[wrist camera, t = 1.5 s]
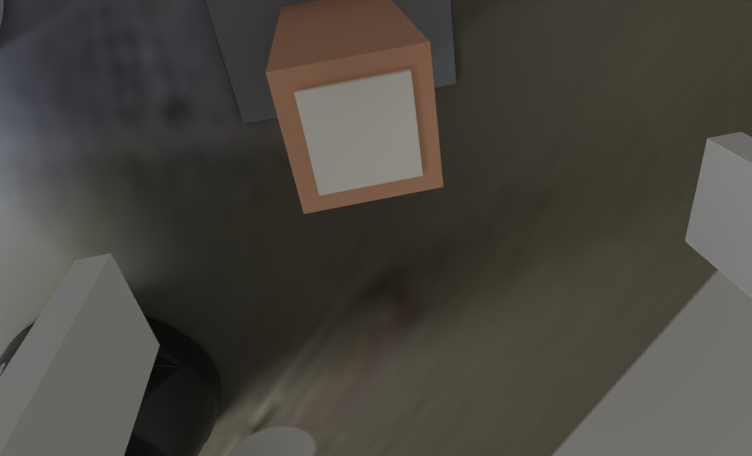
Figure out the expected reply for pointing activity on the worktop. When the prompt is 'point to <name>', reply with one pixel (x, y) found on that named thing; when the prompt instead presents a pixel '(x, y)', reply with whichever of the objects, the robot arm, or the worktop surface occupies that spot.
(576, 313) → the worktop surface
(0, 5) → the supplement tub
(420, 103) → the block
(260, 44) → the mat
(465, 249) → the worktop surface
